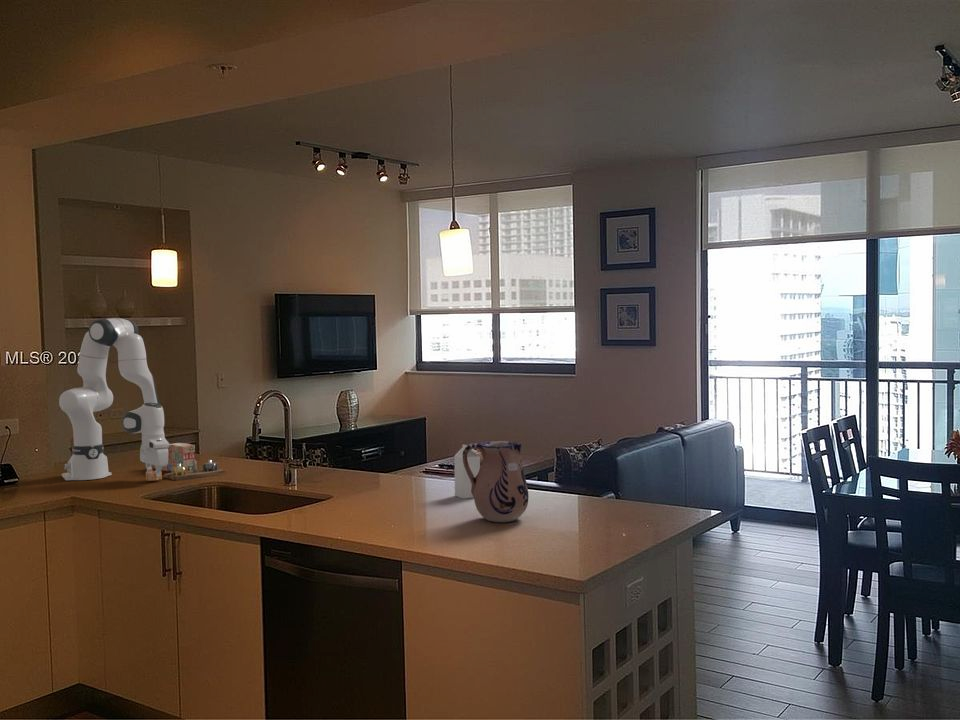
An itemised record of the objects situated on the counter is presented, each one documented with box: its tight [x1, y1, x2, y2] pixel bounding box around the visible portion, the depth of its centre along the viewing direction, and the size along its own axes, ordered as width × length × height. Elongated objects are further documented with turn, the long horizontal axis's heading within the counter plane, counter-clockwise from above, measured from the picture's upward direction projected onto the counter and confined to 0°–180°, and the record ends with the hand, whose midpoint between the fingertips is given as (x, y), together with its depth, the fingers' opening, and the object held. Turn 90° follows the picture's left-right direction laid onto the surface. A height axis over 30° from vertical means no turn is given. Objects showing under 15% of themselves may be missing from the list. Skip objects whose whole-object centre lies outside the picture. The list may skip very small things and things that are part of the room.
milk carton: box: [453, 443, 481, 500], centre depth 312 cm, size 7×7×19 cm
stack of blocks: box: [161, 442, 196, 473], centre depth 379 cm, size 21×6×12 cm, turn 53°
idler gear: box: [145, 470, 163, 482], centre depth 352 cm, size 6×6×3 cm
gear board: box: [163, 459, 226, 481], centre depth 365 cm, size 12×22×6 cm, turn 134°
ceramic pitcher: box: [463, 440, 530, 523], centre depth 273 cm, size 18×21×25 cm
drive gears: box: [171, 459, 219, 475], centre depth 365 cm, size 6×20×4 cm, turn 134°
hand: (153, 475), depth 352 cm, fingers closed on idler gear, 6 cm apart
